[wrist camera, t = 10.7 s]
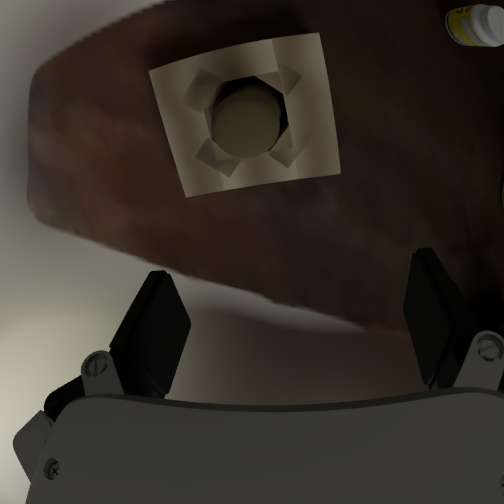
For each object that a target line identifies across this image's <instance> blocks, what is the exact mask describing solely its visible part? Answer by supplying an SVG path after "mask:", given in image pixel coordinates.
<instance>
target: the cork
mask: <svg viewBox="0 0 504 504" xmlns="http://www.w3.org/2000/svg"><path fill="white" fill-rule="evenodd" d="M283 113H284V106H283V101H282V99H281V97H280V96H279V94H278V93H277V92H276V91H275V90H274V89H273V88H272V87H270V86H268V85H265V84H263V83H255V82H253V83H248V84H244V85H242V86H240V87H238V88H237V89H236V90H235V91H234V92H233V93H232V94H231V95H230V96H229V97H227V98H225V99H223V100H222V101H221V102H220V103H219V105H218V106H217V107H216V108H215V110H214V113H213V115H212V118H211V131H212V135H213V138H214V140H215V141H216V143H217V145H218V146H219V147H220V148H221V149H222V150H223V151H225V152H226V153H228V154H230V155H232V156H234V157H240V158H250V157H256V156H258V155H260V154H262V153H264V152H266V151H267V150H268V149H269V148H270V147H271V146H272V145H273V144H274V143H275V141H276V139H277V137H278V134H279V128H280V122H281V120H282V118H283Z"/></svg>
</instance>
